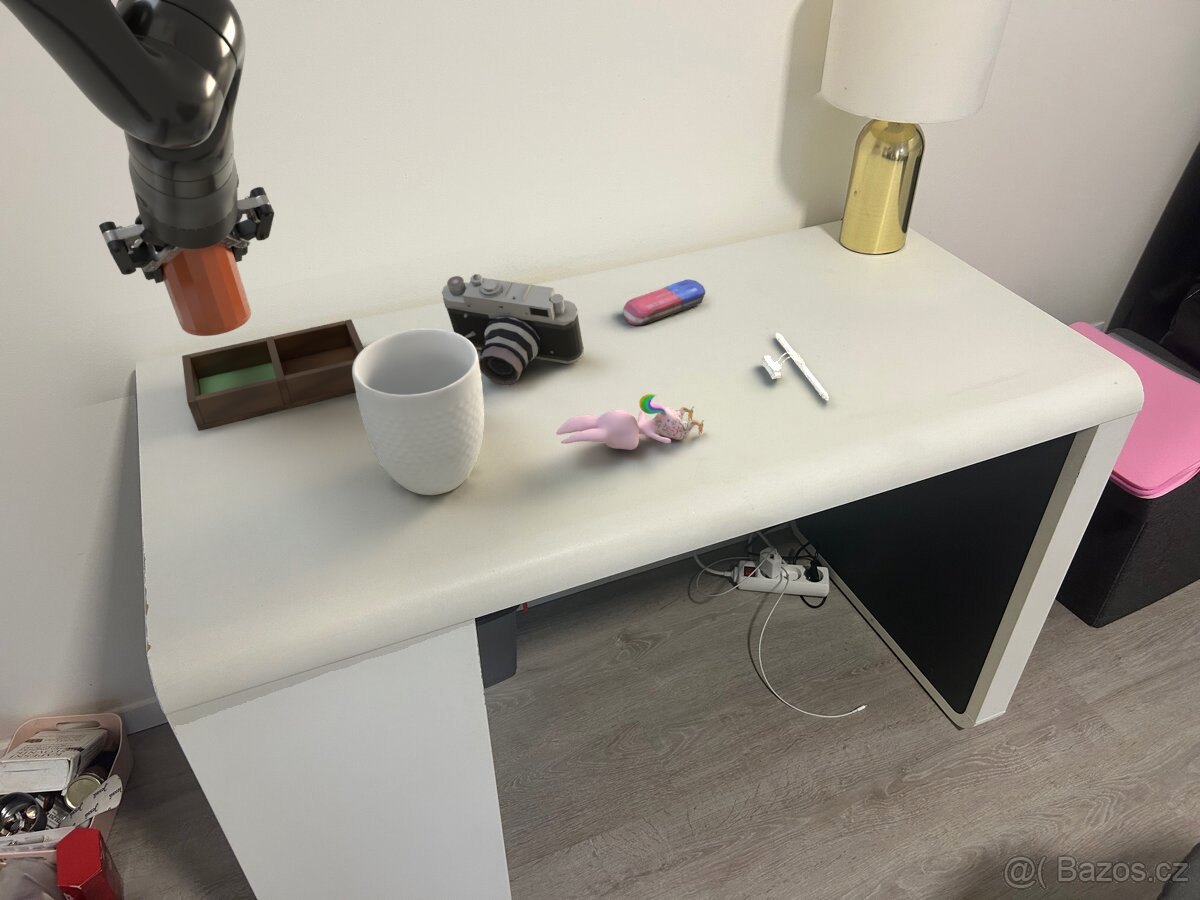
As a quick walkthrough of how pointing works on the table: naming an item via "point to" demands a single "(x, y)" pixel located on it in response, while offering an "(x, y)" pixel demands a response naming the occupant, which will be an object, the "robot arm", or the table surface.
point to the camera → (513, 324)
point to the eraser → (663, 302)
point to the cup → (206, 290)
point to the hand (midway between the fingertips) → (195, 262)
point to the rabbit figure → (630, 426)
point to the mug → (422, 407)
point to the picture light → (775, 367)
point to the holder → (271, 373)
